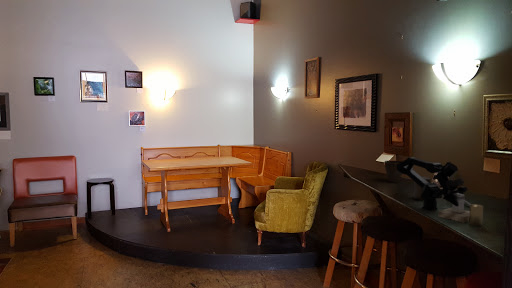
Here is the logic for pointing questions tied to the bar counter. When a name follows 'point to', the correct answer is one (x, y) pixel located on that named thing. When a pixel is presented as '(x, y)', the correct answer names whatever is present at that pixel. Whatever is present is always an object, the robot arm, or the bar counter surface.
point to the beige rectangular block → (476, 215)
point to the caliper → (467, 203)
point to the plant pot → (392, 171)
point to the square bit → (460, 202)
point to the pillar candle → (420, 189)
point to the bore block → (454, 215)
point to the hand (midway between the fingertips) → (460, 205)
